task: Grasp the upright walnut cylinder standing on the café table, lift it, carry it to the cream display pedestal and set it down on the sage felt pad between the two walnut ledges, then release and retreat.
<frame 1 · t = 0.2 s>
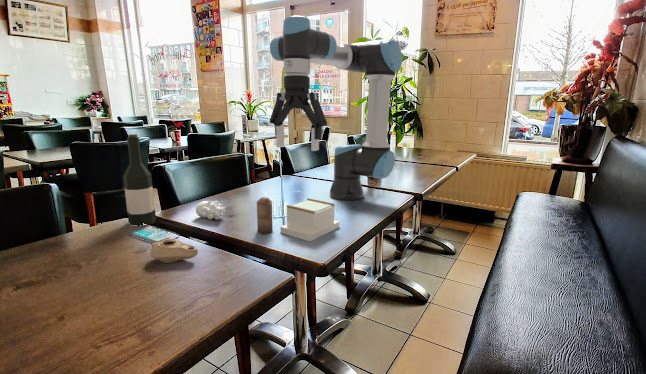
hand: (297, 148, 105), 27 cm above the table, fingers open, 13 cm apart
pottery oil lamp: (174, 261, 91), on the table
display stand: (310, 229, 114), on the table
walnut block: (265, 231, 113), on the table
smartphone: (154, 237, 108), on the table
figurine: (211, 219, 124), on the table
wine bottle: (142, 222, 120), on the table
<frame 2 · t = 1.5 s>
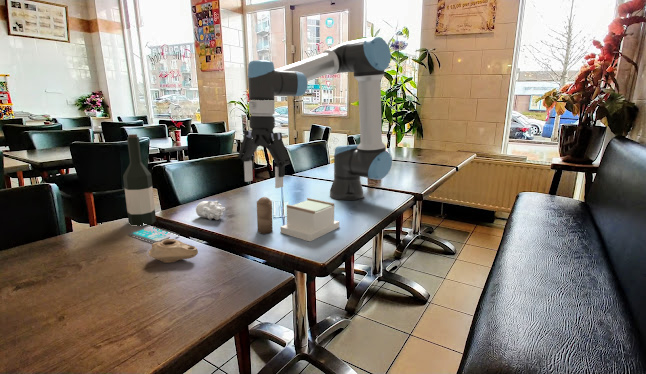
hand: (263, 184, 109), 16 cm above the table, fingers open, 13 cm apart
nothing on the table moved.
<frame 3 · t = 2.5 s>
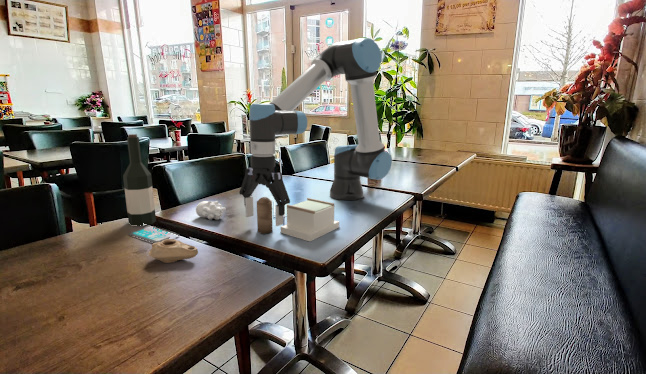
hand: (264, 220, 112), 4 cm above the table, fingers open, 13 cm apart
nothing on the table moved.
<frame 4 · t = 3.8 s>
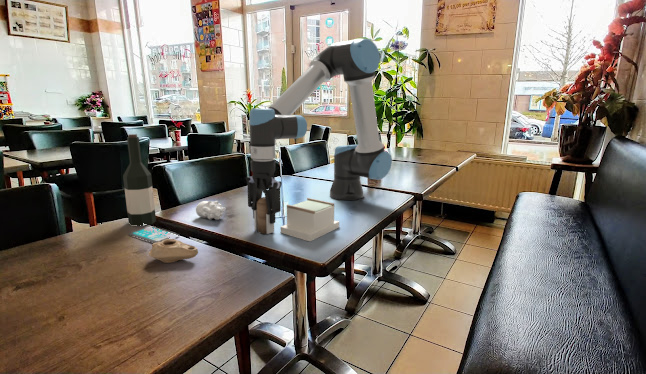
hand: (264, 230, 113), 0 cm above the table, fingers closed on walnut block, 5 cm apart
walnut block: (265, 231, 113), on the table, touching gripper
everything else where it was.
when the fingers open (9 cm above the table, at t = 7.9 s): walnut block stays where it is, resting on display stand.
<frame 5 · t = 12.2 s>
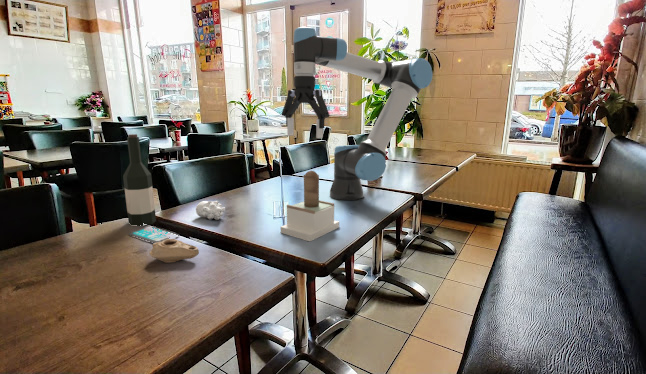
hand: (304, 136, 127), 29 cm above the table, fingers open, 13 cm apart
walnut block: (311, 205, 113), point 8 cm above the table, touching display stand
everything else where it was.
at the end: walnut block inside the target area on the display stand (0.3 cm from its centre), point 8.3 cm above the display stand's base; walnut block tilted 1°; the gripper is holding nothing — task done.
